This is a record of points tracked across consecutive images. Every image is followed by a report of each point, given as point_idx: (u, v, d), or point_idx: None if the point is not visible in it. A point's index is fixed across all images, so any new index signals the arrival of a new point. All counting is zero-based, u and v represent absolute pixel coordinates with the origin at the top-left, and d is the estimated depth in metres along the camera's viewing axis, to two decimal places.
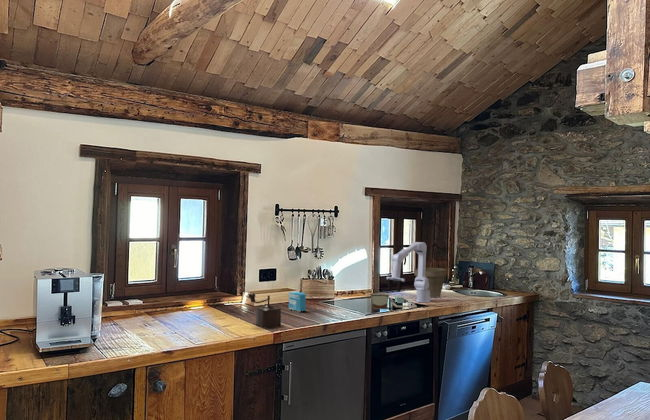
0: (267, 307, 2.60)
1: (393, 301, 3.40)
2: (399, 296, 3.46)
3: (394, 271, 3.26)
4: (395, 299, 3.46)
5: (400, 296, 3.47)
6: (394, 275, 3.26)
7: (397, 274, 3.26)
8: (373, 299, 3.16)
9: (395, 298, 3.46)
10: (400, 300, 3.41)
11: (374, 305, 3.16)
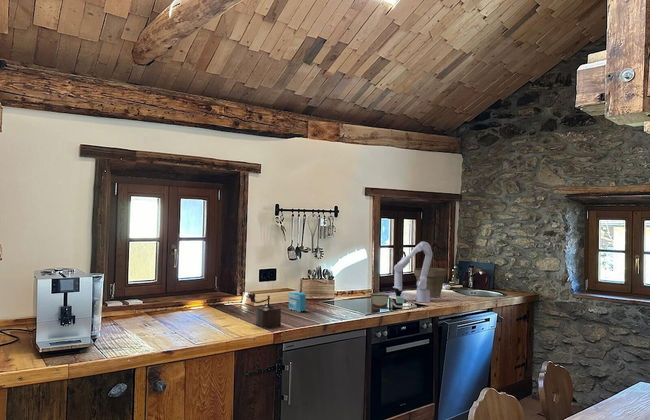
0: (267, 307, 2.60)
1: (393, 301, 3.40)
2: (400, 296, 3.45)
3: (394, 281, 3.47)
4: (396, 299, 3.44)
5: (401, 296, 3.45)
6: (395, 284, 3.47)
7: (397, 283, 3.45)
8: (373, 299, 3.16)
9: (396, 298, 3.44)
10: (400, 300, 3.39)
11: (374, 305, 3.16)
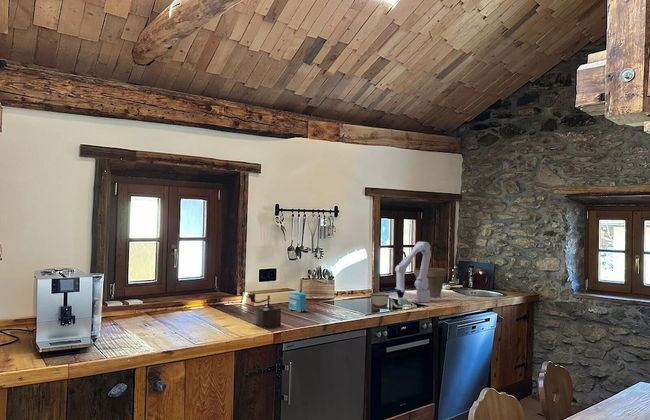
0: (267, 307, 2.60)
1: (393, 301, 3.40)
2: None
3: None
4: (398, 301, 3.37)
5: None
6: (397, 286, 3.40)
7: (399, 285, 3.38)
8: (373, 299, 3.16)
9: (398, 299, 3.37)
10: (403, 301, 3.32)
11: (374, 305, 3.16)
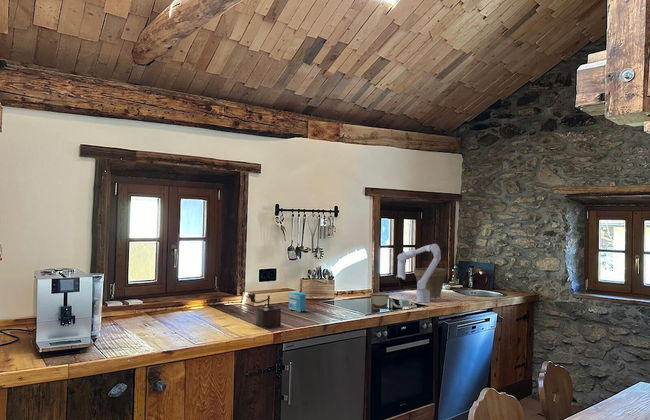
0: (267, 307, 2.60)
1: (393, 301, 3.40)
2: (403, 299, 3.34)
3: (398, 270, 3.50)
4: (399, 302, 3.33)
5: (404, 299, 3.34)
6: (398, 273, 3.50)
7: (400, 272, 3.48)
8: (373, 299, 3.16)
9: (399, 301, 3.33)
10: (405, 303, 3.28)
11: (374, 305, 3.16)
